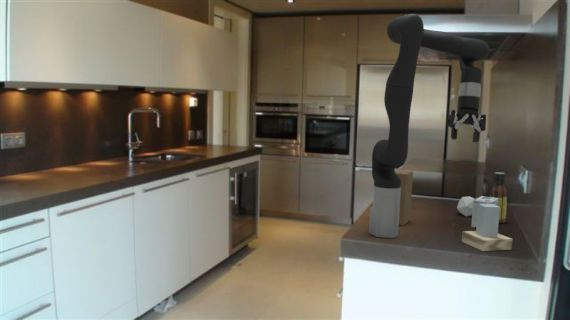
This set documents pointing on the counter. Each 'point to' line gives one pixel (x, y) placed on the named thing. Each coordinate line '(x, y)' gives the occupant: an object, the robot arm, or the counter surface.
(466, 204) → the die
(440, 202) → the counter surface
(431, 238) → the counter surface
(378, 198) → the robot arm
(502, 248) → the beech block
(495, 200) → the light bulb box
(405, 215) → the wooden block
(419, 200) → the counter surface
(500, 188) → the sauce bottle
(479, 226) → the grey rectangular block
